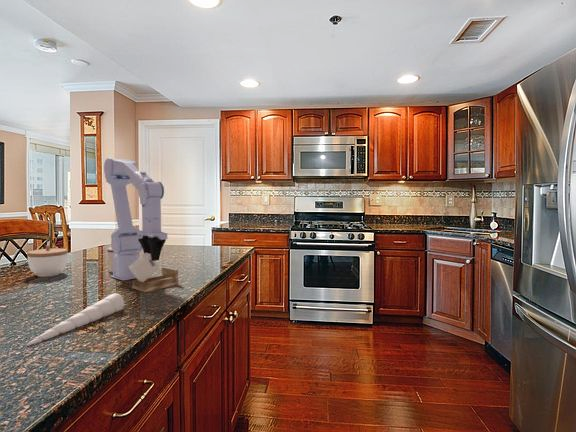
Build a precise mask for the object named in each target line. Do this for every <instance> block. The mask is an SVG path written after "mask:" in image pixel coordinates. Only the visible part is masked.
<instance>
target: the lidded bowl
mask: <svg viewBox="0 0 576 432" xmlns="http://www.w3.org/2000/svg"><path fill="white" fill-rule="evenodd" d="M68 253H69V250H68V249H67V248H62V247H61V248H55V247H54V248H51V247H50V245H45V248H41V249H36V250H35V249H34V250H29V251H27V252H26V256H27V263H28V267H29V269H30V271H31V272H32V273H33V274H35V275H36V277H38V278H44V277H45V278H46V277H54V276H58V275H60V274H61V272H63V270H65V268H66V266H67V264H68Z"/></svg>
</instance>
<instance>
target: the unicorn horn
mask: <svg viewBox="0 0 576 432" xmlns="http://www.w3.org/2000/svg"><path fill="white" fill-rule="evenodd" d="M124 306H125V300H124V297H123V296H122V295H121V294H119V293H116V292H115V293H111V294H109V295H107V296H106V297H104V298H102V299H101V300H99V301H97V302H95V303H93V304H92V305H89V306H88V307H86V308H85V309H82V310H81V311H79V312H77V313H76V314H74V315H72V316H70V317H68V318H67V319H65V320H63V321H62V322H60V323H58V324H56V325H54V326H53V327H52V328H49V329H48V330H46V331H45V332H43V333H41V334H40V335H38V336H37V337H35V338H34V339H32V340H31V341H29V342H28V343H27V344H25V345H26V346H32V345H35V344H39V343H40V342H41V343H42V342H43V340H44V341H47V340H49V339H52V338H54V337H57V336H59V335H60V334H64V333H67V332H70V331H72V330H75V329H76V328H77V329H78V328H80V327H83V326H85V325H88V324H89V323H93V322H96V321H98V320H100V319H102V318H106V317H107V316H110V315H113V314H114V313H118V312H120V311H122V310H123V309H124Z"/></svg>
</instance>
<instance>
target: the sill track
mask: <svg viewBox="0 0 576 432" xmlns="http://www.w3.org/2000/svg"><path fill="white" fill-rule="evenodd" d="M177 285H179V269H177V268H171V267H167V266H163V267H161V274H159V275H156V276H150V277H148V278H147V279H146V280H145V281H144V282H141V281H138V280H137V279H136V280H135V279H133V280H132V284H131V288H132V289H133V290H134V289H135V290H137V291H139V292H140V291H141V292H143V293H147V292H152V291H154V290H155V291H156V290H160V289H165V288H169V287H173V286H177Z"/></svg>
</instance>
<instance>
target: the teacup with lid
mask: <svg viewBox="0 0 576 432" xmlns="http://www.w3.org/2000/svg"><path fill="white" fill-rule="evenodd" d="M106 252H107V266H108V267H107V269H108V271H107V272H109V273H112V274H113V258H114V256H115V255H116V254H115V253H114V252H113V250H112V247H111V246H110V247H108V248H107V251H106Z"/></svg>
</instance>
